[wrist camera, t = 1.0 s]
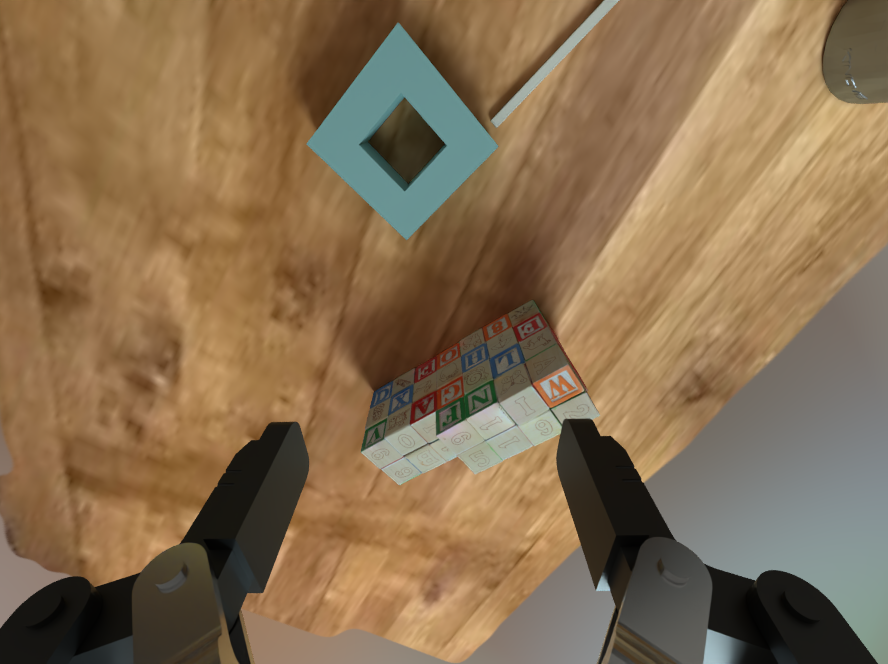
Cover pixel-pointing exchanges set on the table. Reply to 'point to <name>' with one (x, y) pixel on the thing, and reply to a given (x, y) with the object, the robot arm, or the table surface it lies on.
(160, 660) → the robot arm
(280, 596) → the table surface
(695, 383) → the table surface
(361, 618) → the table surface
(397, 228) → the bead
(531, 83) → the grey stick
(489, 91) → the table surface
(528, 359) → the stack of blocks
